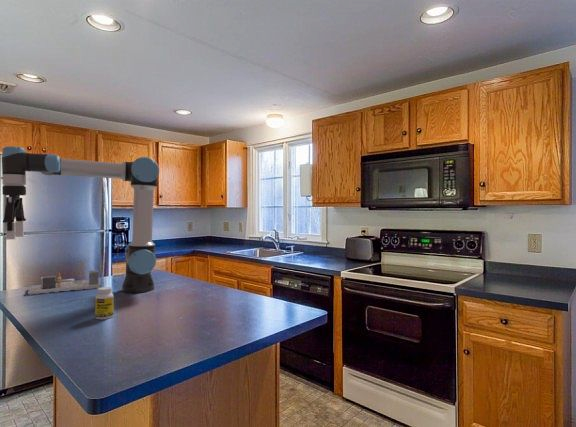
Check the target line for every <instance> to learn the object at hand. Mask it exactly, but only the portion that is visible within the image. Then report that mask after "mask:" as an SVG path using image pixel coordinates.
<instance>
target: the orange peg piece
mask: <svg viewBox="0 0 576 427" xmlns="http://www.w3.org/2000/svg"><path fill="white" fill-rule="evenodd" d="M57 280H62V277H61V272H58V277H57ZM57 283H62V282H57Z"/></svg>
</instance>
